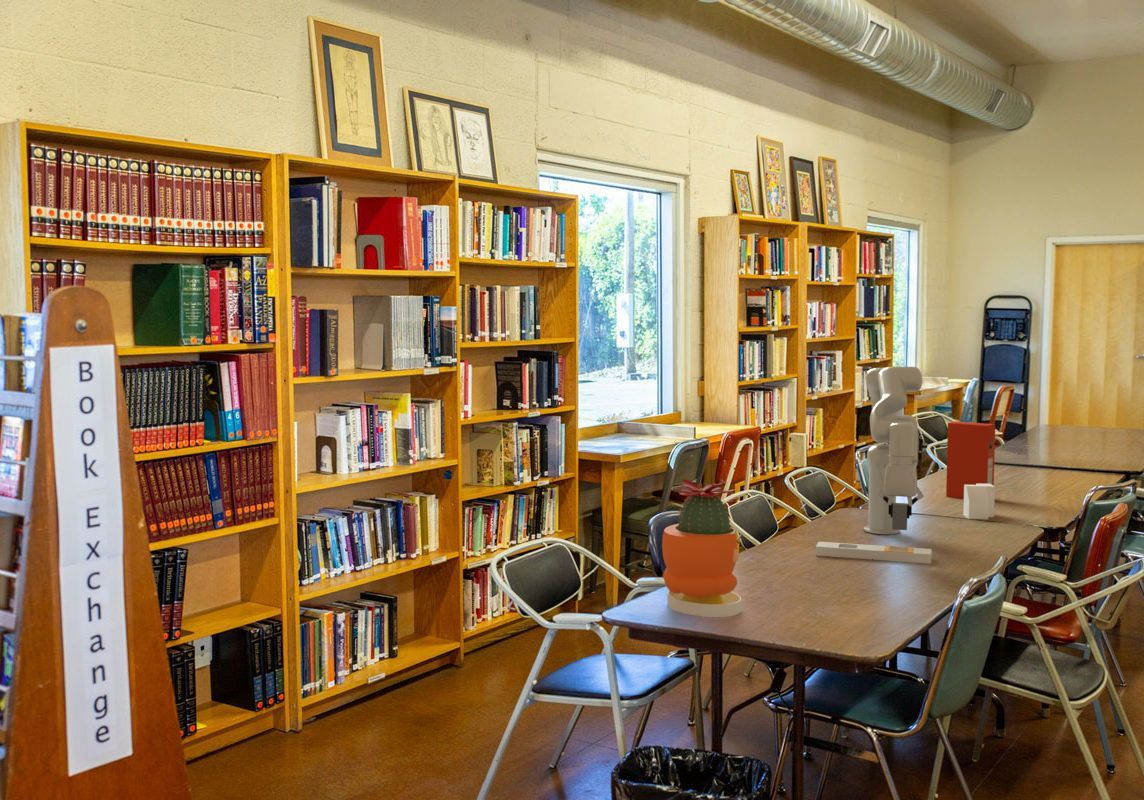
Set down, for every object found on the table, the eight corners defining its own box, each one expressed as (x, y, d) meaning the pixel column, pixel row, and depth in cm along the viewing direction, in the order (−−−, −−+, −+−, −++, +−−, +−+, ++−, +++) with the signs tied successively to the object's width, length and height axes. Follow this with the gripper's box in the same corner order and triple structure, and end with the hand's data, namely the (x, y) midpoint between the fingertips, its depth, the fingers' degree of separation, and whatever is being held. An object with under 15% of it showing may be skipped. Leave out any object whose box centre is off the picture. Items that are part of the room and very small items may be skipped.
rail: (818, 550, 364) (818, 540, 364) (931, 558, 353) (931, 548, 352) (815, 555, 357) (815, 545, 357) (931, 563, 345) (931, 553, 345)
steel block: (892, 527, 353) (893, 502, 353) (907, 527, 352) (907, 503, 352) (892, 529, 349) (892, 504, 349) (906, 530, 348) (907, 505, 347)
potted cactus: (690, 594, 309) (691, 472, 306) (756, 608, 294) (758, 480, 291) (641, 609, 294) (642, 480, 291) (708, 625, 278) (709, 490, 275)
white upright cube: (989, 513, 428) (990, 483, 427) (997, 519, 417) (998, 488, 416) (961, 513, 430) (962, 483, 429) (968, 518, 418) (969, 488, 417)
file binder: (985, 501, 455) (987, 425, 452) (945, 496, 467) (947, 422, 464) (993, 499, 461) (995, 424, 458) (953, 494, 473) (955, 421, 470)
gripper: (928, 460, 350) (927, 517, 351) (874, 458, 356) (873, 514, 357) (928, 463, 343) (927, 520, 344) (873, 461, 349) (872, 517, 350)
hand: (899, 516), depth 350 cm, fingers closed on steel block, 4 cm apart
